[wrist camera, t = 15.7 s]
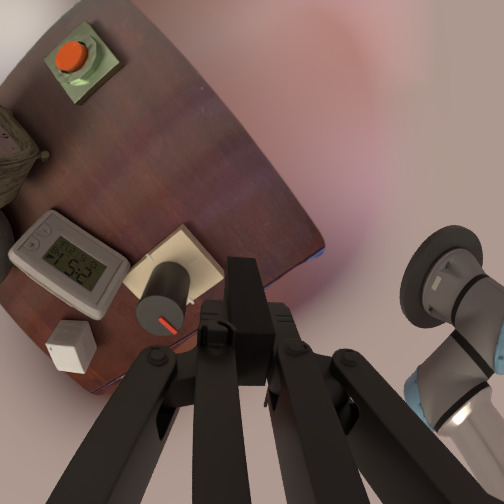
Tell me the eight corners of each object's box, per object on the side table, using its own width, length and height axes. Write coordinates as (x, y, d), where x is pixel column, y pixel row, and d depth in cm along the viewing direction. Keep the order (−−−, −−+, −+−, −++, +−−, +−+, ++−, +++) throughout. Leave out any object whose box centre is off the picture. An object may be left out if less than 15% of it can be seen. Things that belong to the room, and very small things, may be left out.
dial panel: (181, 221, 40) (178, 227, 37) (225, 272, 43) (226, 280, 41) (123, 270, 41) (118, 278, 39) (166, 314, 45) (164, 324, 42)
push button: (92, 56, 26) (87, 53, 25) (69, 78, 27) (63, 76, 25) (78, 38, 25) (73, 35, 23) (57, 60, 25) (50, 57, 24)
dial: (142, 276, 39) (125, 313, 31) (171, 253, 38) (159, 287, 30) (169, 303, 41) (159, 345, 33) (198, 282, 40) (194, 322, 32)
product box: (70, 344, 46) (56, 370, 39) (60, 318, 43) (44, 343, 37) (97, 347, 46) (85, 374, 40) (89, 320, 44) (74, 346, 37)
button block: (124, 65, 30) (115, 59, 27) (81, 105, 32) (68, 103, 28) (91, 24, 27) (80, 15, 23) (50, 62, 28) (37, 58, 24)
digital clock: (138, 264, 41) (117, 302, 31) (106, 300, 43) (83, 341, 33) (62, 190, 36) (21, 209, 26) (35, 232, 37) (-2, 259, 28)
